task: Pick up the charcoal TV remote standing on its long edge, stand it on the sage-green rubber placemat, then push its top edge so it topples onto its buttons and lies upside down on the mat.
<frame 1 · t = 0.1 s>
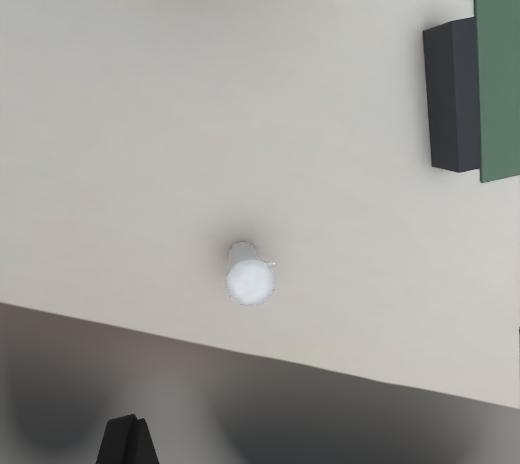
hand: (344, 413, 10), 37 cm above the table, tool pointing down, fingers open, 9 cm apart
remote: (451, 99, 44), point 3 cm above the table
milkshake: (243, 251, 48), on the table
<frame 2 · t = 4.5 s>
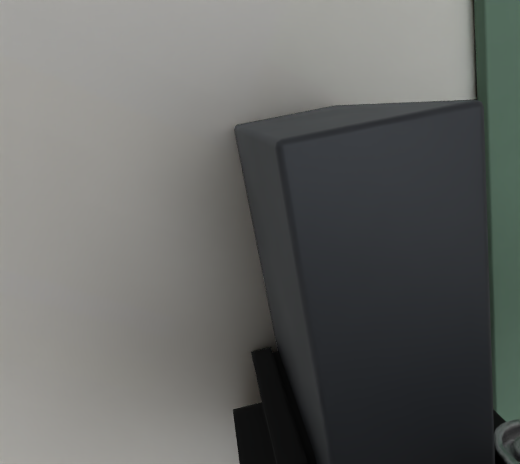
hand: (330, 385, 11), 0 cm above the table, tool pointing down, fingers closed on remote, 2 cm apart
remote: (365, 454, 9), point 3 cm above the table, touching gripper
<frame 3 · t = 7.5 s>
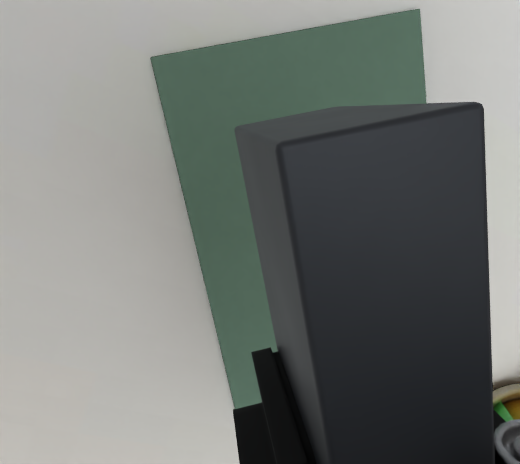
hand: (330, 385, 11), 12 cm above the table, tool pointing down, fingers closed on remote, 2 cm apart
remote: (365, 455, 9), point 15 cm above the table, touching gripper
placemat: (317, 231, 24), on the table
when the fingers open (1 cm above the table, at t = 10.8 s): remote stays where it is, resting on placemat.
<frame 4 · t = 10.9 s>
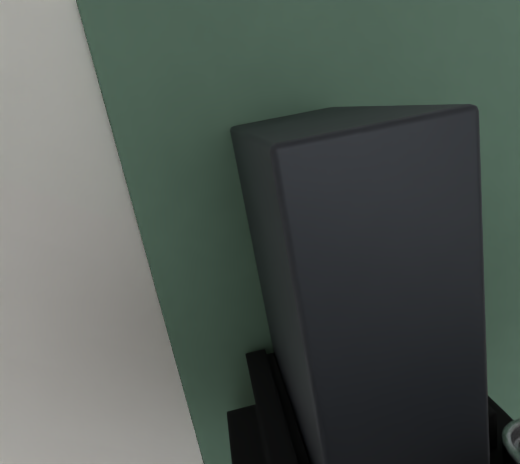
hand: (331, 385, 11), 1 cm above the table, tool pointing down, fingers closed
remote: (360, 456, 9), point 3 cm above the table, touching placemat
placemat: (417, 346, 12), on the table
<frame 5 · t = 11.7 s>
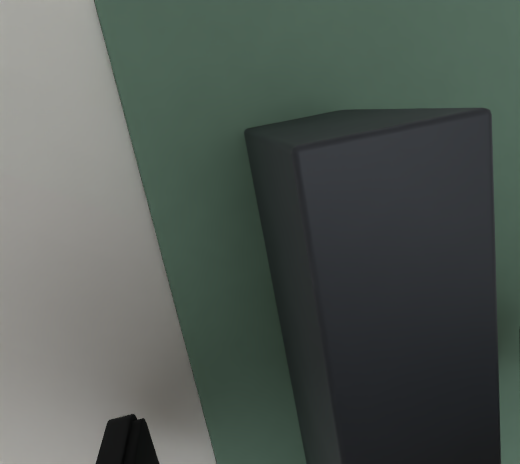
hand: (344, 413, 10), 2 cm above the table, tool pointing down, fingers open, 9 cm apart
remote: (372, 451, 9), point 3 cm above the table, touching placemat
placemat: (426, 345, 12), on the table
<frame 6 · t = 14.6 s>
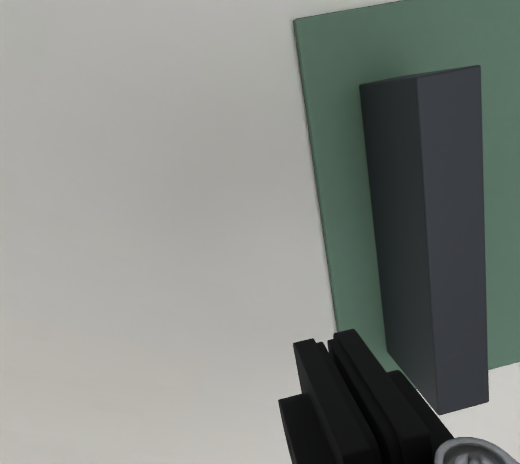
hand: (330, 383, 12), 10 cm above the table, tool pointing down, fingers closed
remote: (423, 241, 19), point 3 cm above the table, touching placemat
placemat: (445, 210, 22), on the table
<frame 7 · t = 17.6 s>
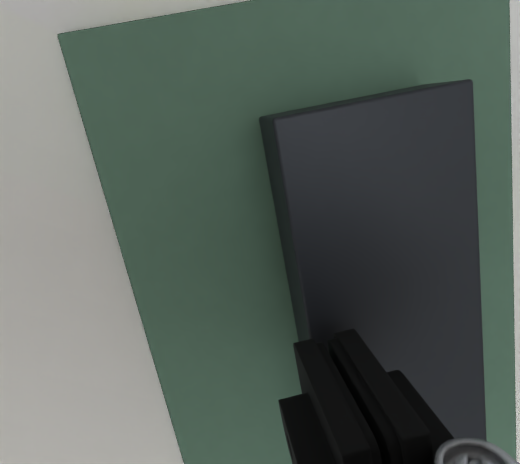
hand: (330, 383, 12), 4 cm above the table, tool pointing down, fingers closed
remote: (383, 326, 14), point 2 cm above the table, tilted 90°, touching placemat
placemat: (336, 306, 15), on the table
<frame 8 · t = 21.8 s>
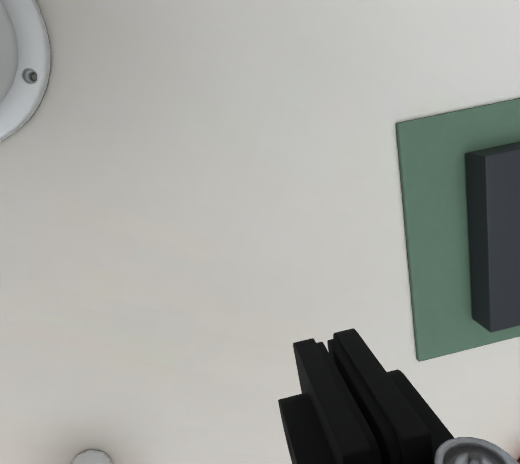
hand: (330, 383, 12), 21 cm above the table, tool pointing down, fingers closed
remote: (509, 238, 33), point 2 cm above the table, tilted 90°, touching placemat
placemat: (483, 233, 35), on the table
milkshake: (95, 460, 36), on the table
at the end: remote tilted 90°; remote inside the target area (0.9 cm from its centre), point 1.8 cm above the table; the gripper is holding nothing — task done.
